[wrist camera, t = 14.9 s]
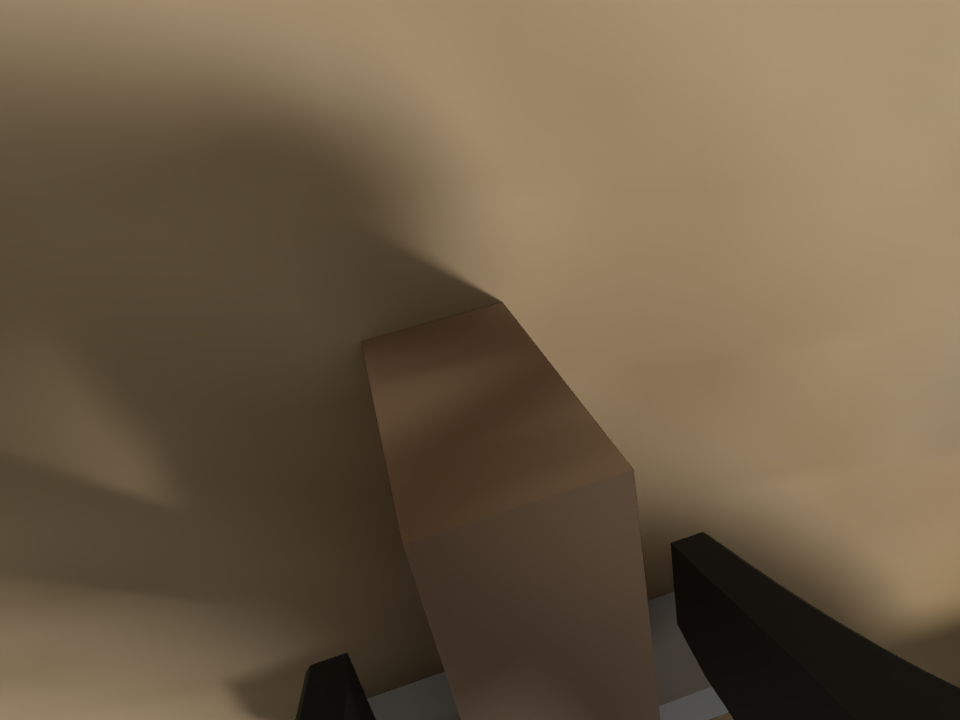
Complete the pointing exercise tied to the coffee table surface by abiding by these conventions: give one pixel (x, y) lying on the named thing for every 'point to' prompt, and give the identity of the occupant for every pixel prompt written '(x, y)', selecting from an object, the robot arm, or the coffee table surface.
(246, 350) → the coffee table surface
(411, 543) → the plank on grey base
